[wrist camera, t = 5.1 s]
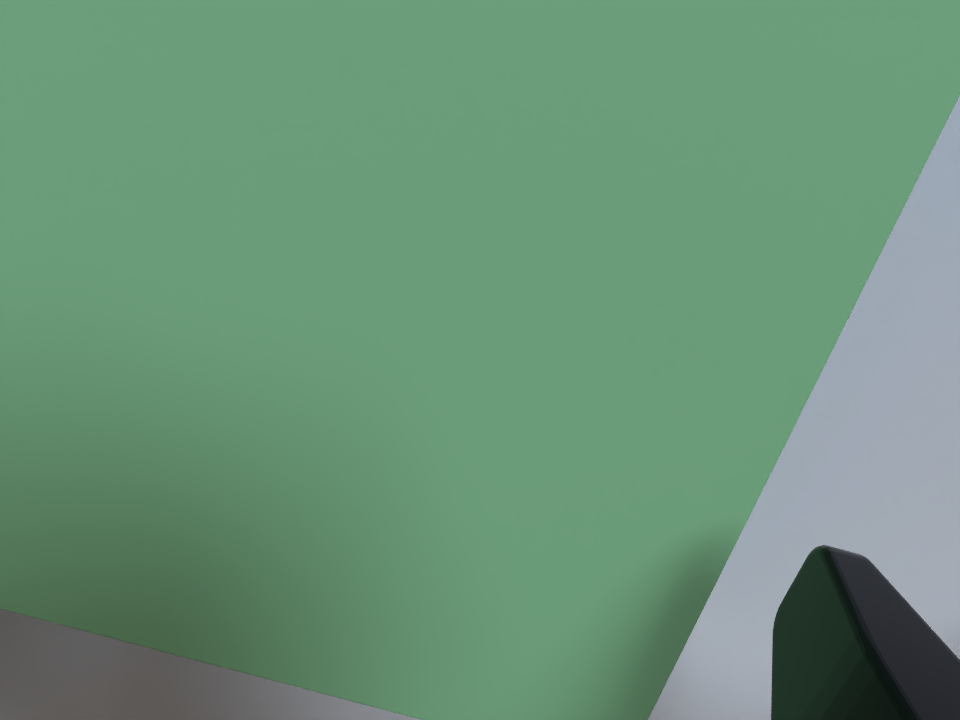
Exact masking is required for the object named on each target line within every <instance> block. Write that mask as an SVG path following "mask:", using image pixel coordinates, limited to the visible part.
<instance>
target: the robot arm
mask: <svg viewBox="0 0 960 720" xmlns="http://www.w3.org/2000/svg"><path fill="white" fill-rule="evenodd" d="M771 720H960V660H959V659H958V658H957V656H956V655H955V654H954V653H953V652H952V651H951V650H950V649H949V648H948V646H947V645H946V644H945V643H944V642H943V641H942V640H941V639H940V638H939V637H938V635H937V634H936V633H935V632H934V631H933V630H932V629H931V628H930V627H929V625H928V624H927V623H926V622H925V621H924V620H923V619H922V618H921V617H920V616H919V614H918V613H917V612H916V611H915V610H914V609H913V608H912V607H911V606H910V604H909V603H908V602H907V601H906V600H905V599H904V598H903V597H902V596H901V595H900V593H899V592H898V591H897V590H896V589H895V588H894V587H893V586H892V585H891V584H890V582H889V581H888V580H887V579H886V578H885V577H884V576H883V575H882V574H881V572H880V571H879V570H878V569H877V568H876V567H875V566H874V565H873V564H872V563H871V562H870V561H869V560H868V559H867V558H866V557H864V556H862V555H860V554H856V553H852V552H849V551H845V550H841V549H838V548H834V547H830V546H827V545H822V546H819V547H816V548H815V549H814V550H812V551H811V553H810V554H809V555H808V557H807V558H806V560H805V562H804V564H803V565H802V567H801V569H800V571H799V573H798V574H797V576H796V578H795V580H794V581H793V583H792V585H791V587H790V588H789V590H788V592H787V594H786V595H785V597H784V599H783V601H782V603H781V604H780V606H779V608H778V611H777V614H776V618H775V622H774V628H773V652H772V703H771Z"/></svg>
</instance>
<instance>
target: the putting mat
mask: <svg viewBox="0 0 960 720" xmlns="http://www.w3.org/2000/svg"><path fill="white" fill-rule="evenodd" d="M959 95H960V0H0V609H3V610H7V611H11V612H15V613H19V614H22V615H26V616H30V617H34V618H38V619H41V620H45V621H49V622H53V623H57V624H60V625H64V626H68V627H72V628H76V629H79V630H83V631H87V632H91V633H95V634H98V635H102V636H106V637H110V638H114V639H117V640H121V641H125V642H129V643H133V644H136V645H140V646H144V647H148V648H152V649H155V650H159V651H163V652H167V653H171V654H174V655H178V656H182V657H186V658H189V659H193V660H197V661H201V662H205V663H208V664H212V665H216V666H220V667H224V668H227V669H231V670H235V671H239V672H243V673H246V674H250V675H254V676H258V677H262V678H265V679H269V680H273V681H277V682H281V683H284V684H288V685H292V686H296V687H300V688H303V689H307V690H311V691H315V692H319V693H322V694H326V695H330V696H334V697H338V698H341V699H345V700H349V701H353V702H357V703H360V704H364V705H368V706H372V707H376V708H379V709H383V710H387V711H391V712H394V713H398V714H402V715H406V716H410V717H413V718H417V719H421V720H648V718H649V716H650V714H651V712H652V710H653V708H654V706H655V704H656V702H657V700H658V698H659V696H660V694H661V692H662V690H663V688H664V686H665V684H666V682H667V680H668V678H669V676H670V674H671V672H672V670H673V668H674V666H675V664H676V662H677V660H678V658H679V656H680V654H681V652H682V650H683V648H684V646H685V644H686V642H687V640H688V638H689V636H690V634H691V632H692V630H693V628H694V626H695V624H696V622H697V620H698V618H699V616H700V614H701V612H702V610H703V608H704V606H705V604H706V602H707V600H708V598H709V596H710V594H711V592H712V590H713V588H714V586H715V584H716V582H717V580H718V578H719V576H720V574H721V572H722V570H723V568H724V566H725V564H726V562H727V560H728V558H729V556H730V554H731V552H732V550H733V548H734V546H735V544H736V542H737V540H738V538H739V536H740V534H741V532H742V530H743V528H744V526H745V524H746V522H747V520H748V518H749V516H750V514H751V512H752V510H753V508H754V506H755V504H756V502H757V500H758V498H759V496H760V494H761V492H762V490H763V488H764V486H765V484H766V482H767V480H768V478H769V476H770V474H771V472H772V470H773V468H774V466H775V464H776V462H777V460H778V458H779V456H780V454H781V452H782V450H783V448H784V446H785V444H786V442H787V440H788V438H789V436H790V434H791V432H792V430H793V428H794V426H795V424H796V422H797V420H798V418H799V416H800V414H801V412H802V410H803V408H804V406H805V404H806V402H807V400H808V398H809V396H810V394H811V392H812V390H813V388H814V386H815V384H816V382H817V380H818V378H819V376H820V374H821V372H822V370H823V368H824V366H825V364H826V362H827V360H828V358H829V356H830V354H831V352H832V350H833V348H834V346H835V344H836V342H837V340H838V338H839V336H840V334H841V332H842V330H843V328H844V326H845V324H846V322H847V320H848V318H849V316H850V314H851V312H852V310H853V308H854V306H855V304H856V302H857V300H858V297H859V295H860V293H861V291H862V289H863V287H864V285H865V283H866V281H867V279H868V277H869V275H870V273H871V271H872V269H873V267H874V265H875V263H876V261H877V259H878V257H879V255H880V253H881V251H882V249H883V247H884V245H885V243H886V241H887V239H888V237H889V235H890V233H891V231H892V229H893V227H894V225H895V223H896V221H897V219H898V217H899V215H900V213H901V211H902V209H903V207H904V205H905V203H906V201H907V199H908V197H909V195H910V193H911V191H912V189H913V187H914V185H915V183H916V181H917V179H918V177H919V175H920V173H921V171H922V169H923V167H924V165H925V163H926V161H927V159H928V157H929V155H930V153H931V151H932V149H933V147H934V145H935V143H936V141H937V139H938V137H939V135H940V133H941V131H942V129H943V127H944V125H945V123H946V121H947V119H948V117H949V115H950V113H951V111H952V109H953V107H954V105H955V103H956V101H957V99H958V97H959Z"/></svg>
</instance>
